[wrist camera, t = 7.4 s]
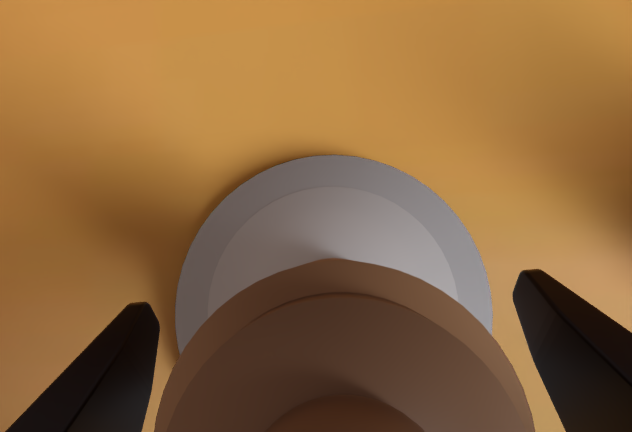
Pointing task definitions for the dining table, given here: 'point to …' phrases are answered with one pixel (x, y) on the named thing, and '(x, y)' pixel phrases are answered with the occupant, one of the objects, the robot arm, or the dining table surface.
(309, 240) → the plate
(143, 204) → the dining table surface
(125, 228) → the dining table surface
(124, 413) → the robot arm
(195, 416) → the wooden pepper mill
